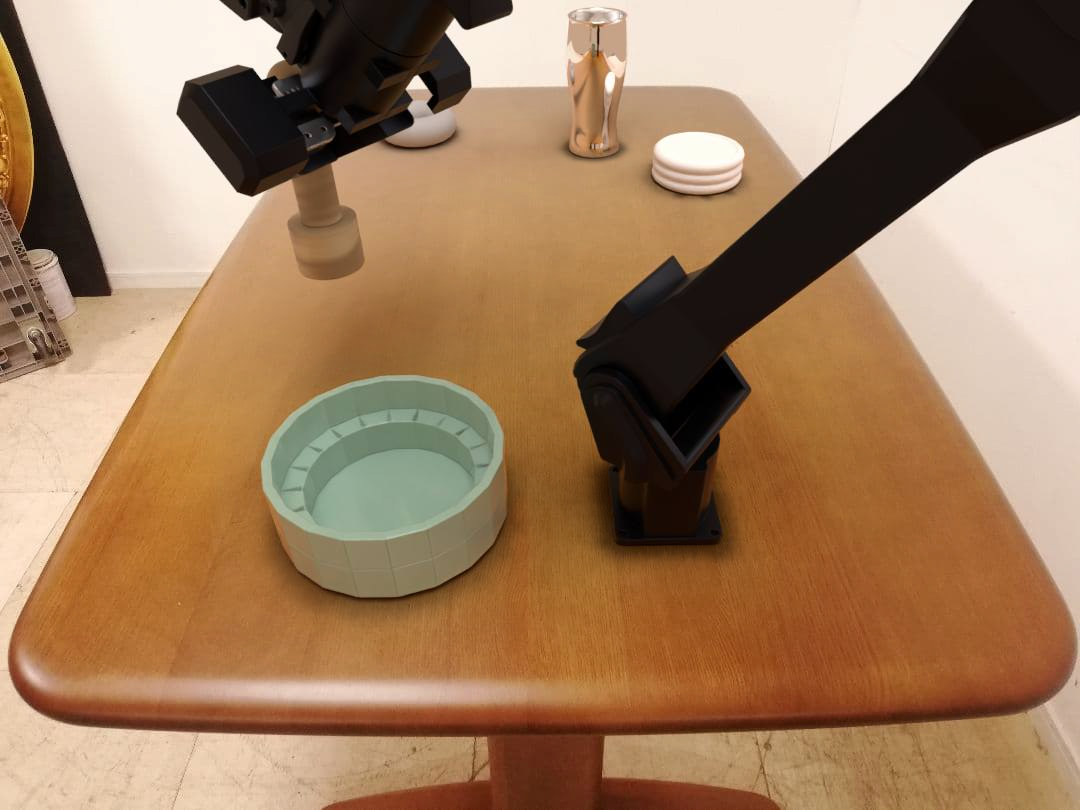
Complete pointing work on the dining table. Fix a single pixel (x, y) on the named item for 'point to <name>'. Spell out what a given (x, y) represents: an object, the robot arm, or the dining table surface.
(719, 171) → the coaster
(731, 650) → the dining table surface
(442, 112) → the donut
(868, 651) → the dining table surface
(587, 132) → the beer glass
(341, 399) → the bowl
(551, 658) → the dining table surface
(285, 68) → the pestle
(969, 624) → the dining table surface
